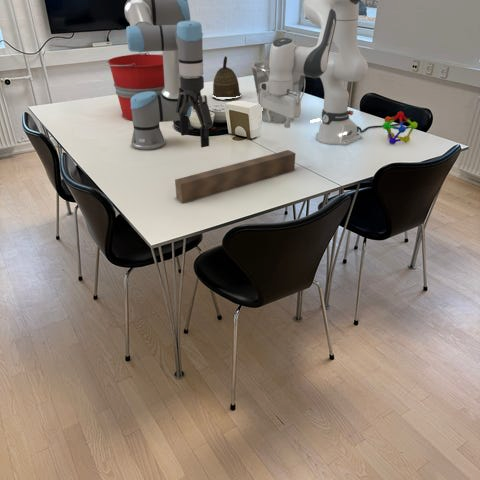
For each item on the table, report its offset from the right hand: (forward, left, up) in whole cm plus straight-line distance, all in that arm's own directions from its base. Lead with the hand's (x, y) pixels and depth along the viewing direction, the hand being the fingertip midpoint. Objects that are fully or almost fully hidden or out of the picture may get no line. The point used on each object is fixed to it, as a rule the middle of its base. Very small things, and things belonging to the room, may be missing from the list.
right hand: (279, 124), depth 170 cm
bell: (-50, -111, -20) cm, 123 cm away
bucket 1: (+9, -105, -20) cm, 107 cm away
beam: (+19, 0, -20) cm, 27 cm away
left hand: (+37, 0, +1) cm, 37 cm away
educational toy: (-69, +5, -20) cm, 72 cm away
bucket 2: (-48, -58, -20) cm, 78 cm away
